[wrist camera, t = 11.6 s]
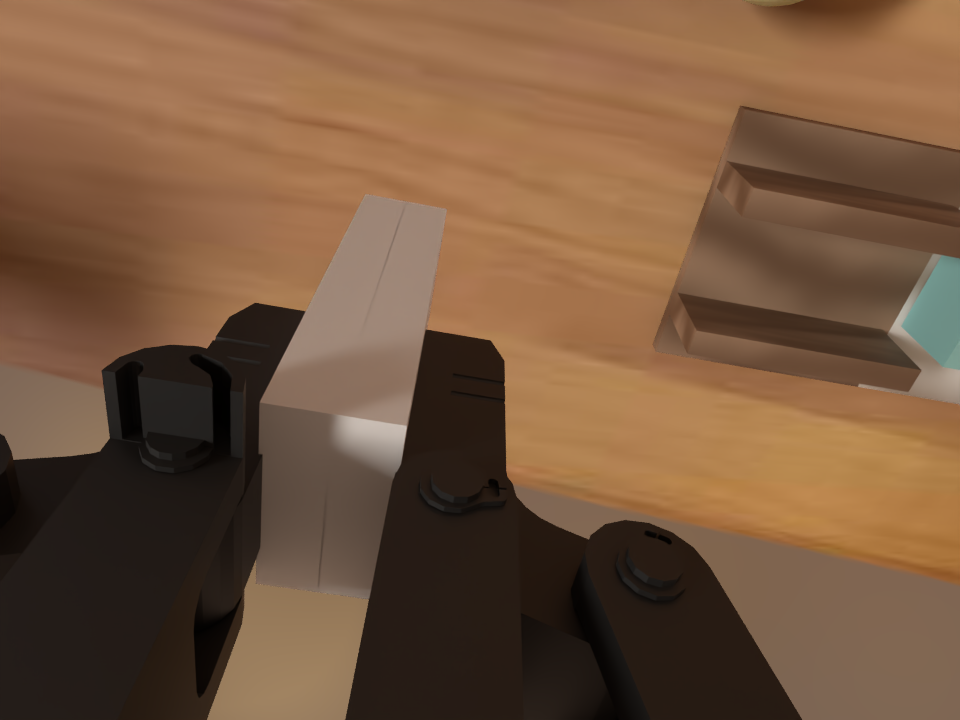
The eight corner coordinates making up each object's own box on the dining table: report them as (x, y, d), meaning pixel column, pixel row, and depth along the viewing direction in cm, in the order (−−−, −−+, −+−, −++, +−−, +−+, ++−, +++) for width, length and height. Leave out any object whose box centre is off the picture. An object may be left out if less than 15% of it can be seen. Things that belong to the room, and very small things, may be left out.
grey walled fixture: (740, 105, 39) (776, 131, 34) (1109, 180, 41) (1196, 215, 36) (652, 344, 48) (671, 393, 43) (963, 398, 50) (1017, 451, 44)
